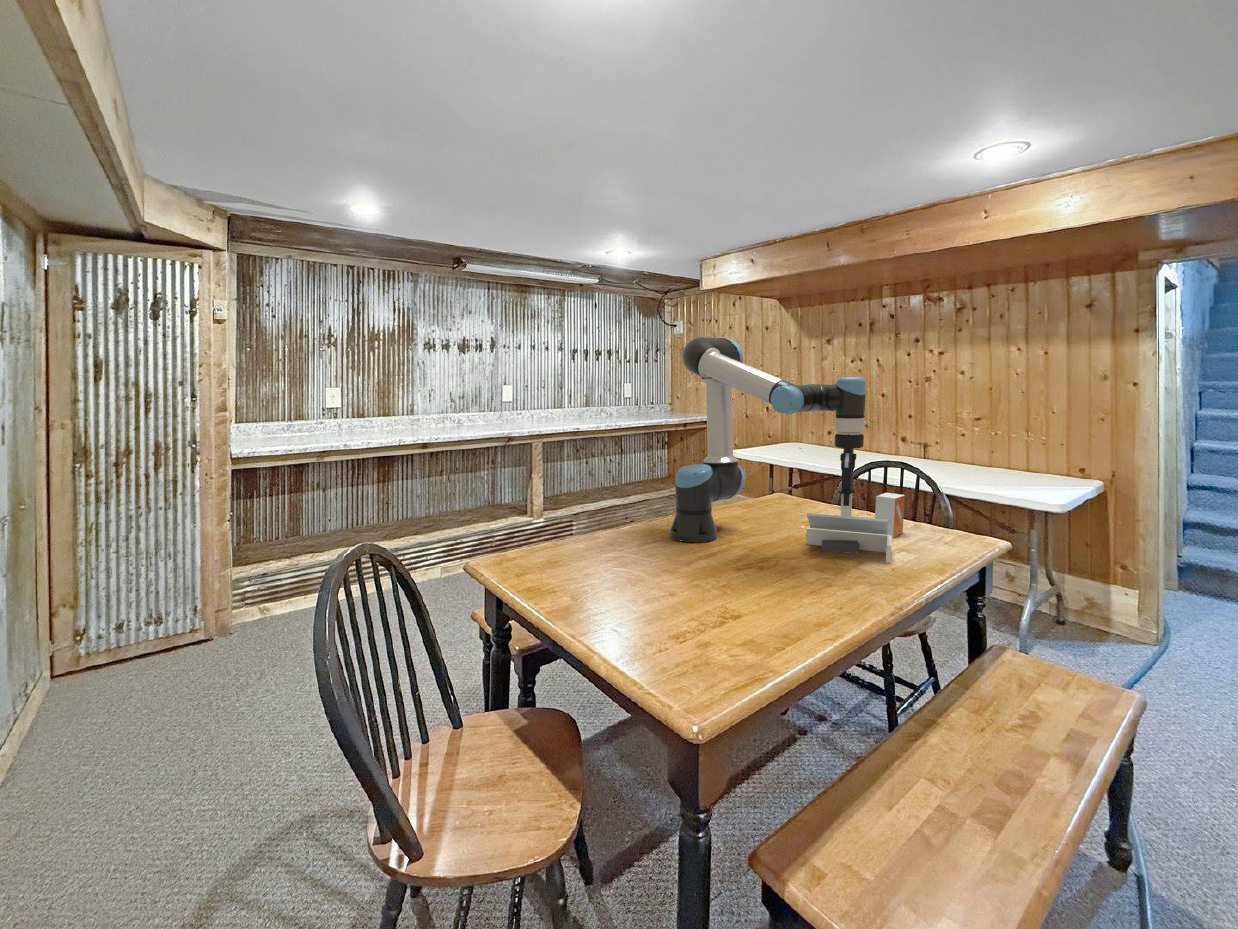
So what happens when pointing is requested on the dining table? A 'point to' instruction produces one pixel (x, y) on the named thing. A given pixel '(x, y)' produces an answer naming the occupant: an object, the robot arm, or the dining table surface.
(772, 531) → the dining table surface
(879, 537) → the grey bench block
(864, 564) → the dining table surface
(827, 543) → the dark blue-grey block
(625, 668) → the dining table surface
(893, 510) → the small box
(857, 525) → the cover
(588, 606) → the dining table surface
